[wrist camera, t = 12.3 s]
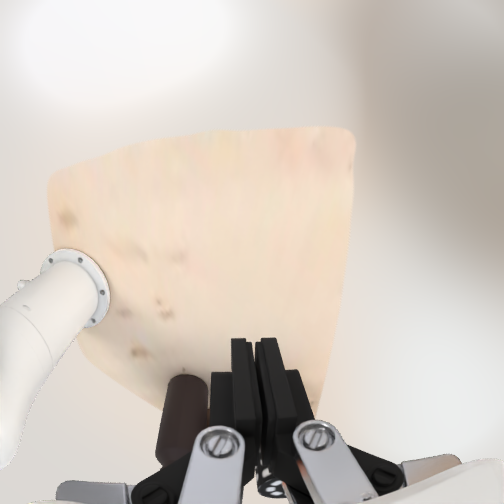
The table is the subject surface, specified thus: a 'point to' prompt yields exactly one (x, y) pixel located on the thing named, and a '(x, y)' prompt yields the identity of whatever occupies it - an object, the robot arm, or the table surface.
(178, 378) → the bottle
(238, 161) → the table surface
